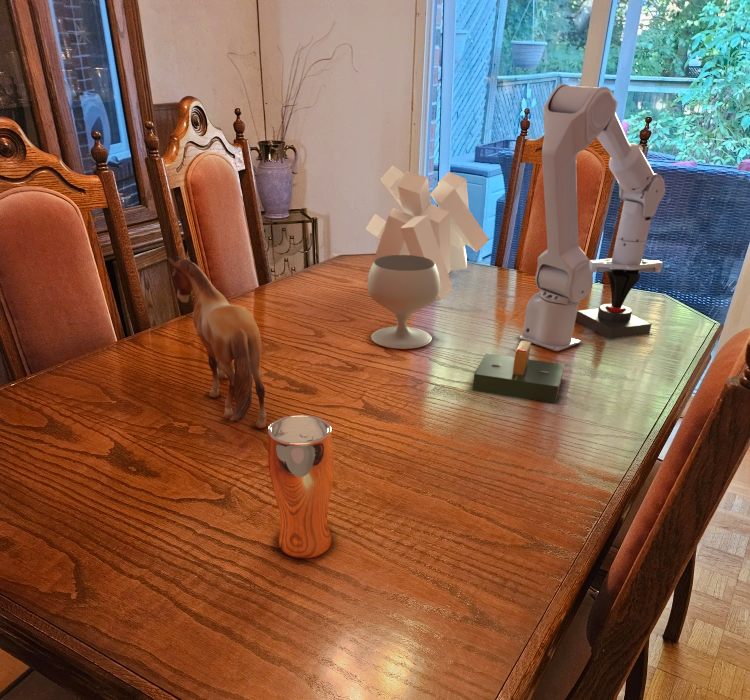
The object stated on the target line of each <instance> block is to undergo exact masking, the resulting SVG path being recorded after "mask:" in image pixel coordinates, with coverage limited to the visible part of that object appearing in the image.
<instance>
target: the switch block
mask: <svg viewBox="0 0 750 700" xmlns="http://www.w3.org/2000/svg"><path fill="white" fill-rule="evenodd" d="M608 304H609V303H604V304H601V305H599V306H598V308H589V309H581V310H580V309H579V310H577V315H576V320H575V322H577V323H579V324H581V325H583V326H585V327H587V328H589V329H590V330H593V331H594V332H596V333H598V334H600V335H602V336H603V337H605V338H607V339H609V340H613V339H619V338H621V339H622V338H628V337H629V338H630V337H635V336H641V335H642V336H644V335H650V332H651V328H652V323H651V322H649V321H646V320H644V319H642V318H641V317H638V316H636V315H634V314H633V310H632V308H631V307H628V306H626V305H624V306H625V310H624V312H613V311H609V310H607V305H608Z"/></svg>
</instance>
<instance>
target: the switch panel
mask: <svg viewBox="0 0 750 700" xmlns="http://www.w3.org/2000/svg"><path fill="white" fill-rule="evenodd" d="M514 360H515V356H507V355H501V354H500V355H499V354H492V353H485V354H484V356H483V358H482V359H481V362H480V363H479V365H478V367H477V368H476V370H475V372H474V373H473V382H472V391H475V392H482V393H487V394H495V395H502V396H506V397H514V398H519V399H527V400H532V401H537V402H538V401H539V402H544V403H545V402H546V403H552V404H556V402H557V399H558V396H559V391H560V387H561V385H562V382H563V375H564V370H565V364H563V363H556V362H548V361H542V360H535V359H529V360H528V365H527V367H526V370H525V372H524V375H516V374H513V367H514Z"/></svg>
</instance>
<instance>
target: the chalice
mask: <svg viewBox="0 0 750 700" xmlns="http://www.w3.org/2000/svg"><path fill="white" fill-rule="evenodd" d="M372 263H373V262H372ZM368 275H369V276H368ZM368 275H367V278H368V282H366V283H367V284H366V286H367V293H368V295H369V297H370V298H371V299H372V301H373V302H375V303H376V304H377V305H379V306H380V307H382V308H384V309H386V310H388V311H389V312H391V313H392V314H393V315H394V316H395V318H396V321H397V323H396V326H395V325H394V326H387V327H382V328H379V329H377V330H375V331H374V332H373V333H372V334H371V335H370V339H371V340H372V341H373V342H374V343H375V344H377V345H379V346H382V347H386V348H391V349H399V350H400V349H402V350H403V349H404V350H407V349H416V348H421V347H424V346H426V345H428V344H430V343H431V341H432V335H430V333H428V331H425V330H423V329H420V328H417V327H413V326H412V327H411V326H408V325H407V322H408V319H409V318H410V317H411V315H413V314H414V313H415V312H417V311H419V310H421V309H423V308H426V307H428V306H429V305H430V304H432V303H434V301H436V300H435V299H436V298H437V296H438V294H439V291H440V279H439V273H438V270H437V267H436V265H435V263H434V262H433V261H432V260H430V259H428V258H424V257H419V256H412V255H391V256H385V257H381V258H378V259H376V260H375V261H374V263H373V264H371V267H370V268H369V273H368Z"/></svg>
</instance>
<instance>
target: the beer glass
mask: <svg viewBox="0 0 750 700" xmlns="http://www.w3.org/2000/svg"><path fill="white" fill-rule="evenodd" d="M267 433H268V444H267V445H268V447H267V450H268V453H267V454H268V455H267V456H268V470H269V478H270V482H271V486H272V491H273V494H274V497H275V501H276V504H277V508H278V511H279V517H280V530H279V537H278V546H279V548H280V550H281V551H282V552H283V553H284V554H285V555H287V556H289V557H292V558H296V559H312V558H316V557H318V556H321V555H322V554H324V553H326V552H327V551H328V550H329V548H330V547H331V545H332V536H331V532H330V527H329V522H328V510H329V504H330V500H331V499H330V498H331V493H332V487H333V481H334V470H335V469H334V467H335V465H334V464H335V461H334V447H333V437H332V427H331V424H330V423H329V422H328V421H327V420H325V419H323V418H321V417H318V416H315V415H308V414H293V415H287V416H284V417H281V418H278V419H276V420H274V421H273V422H272V423H271V424H270V425H269V426H268V429H267Z"/></svg>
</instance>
